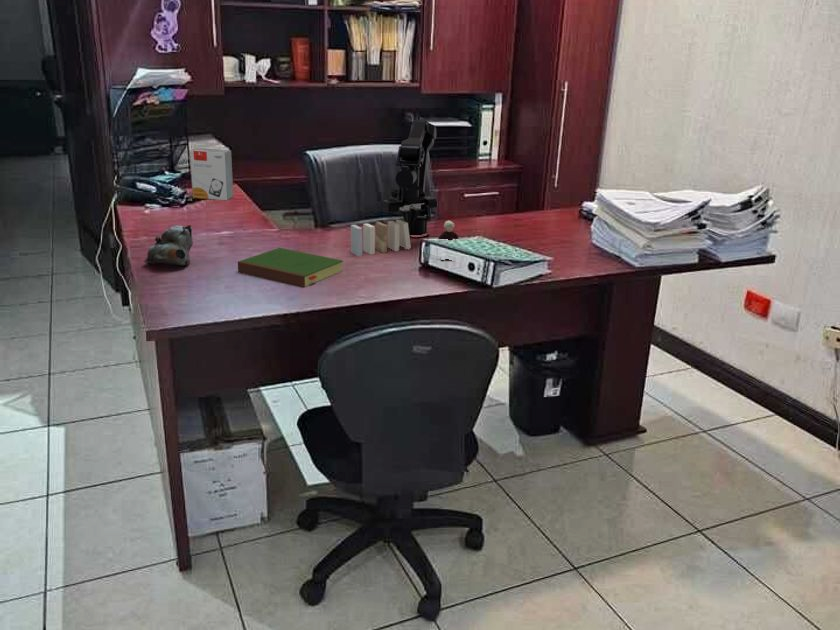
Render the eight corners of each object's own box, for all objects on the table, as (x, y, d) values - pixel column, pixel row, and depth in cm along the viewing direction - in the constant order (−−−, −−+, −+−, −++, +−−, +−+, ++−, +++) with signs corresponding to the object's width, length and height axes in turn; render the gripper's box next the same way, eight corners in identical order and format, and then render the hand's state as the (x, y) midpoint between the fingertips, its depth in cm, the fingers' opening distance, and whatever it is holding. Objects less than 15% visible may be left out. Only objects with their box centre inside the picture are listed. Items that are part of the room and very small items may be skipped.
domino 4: (391, 247, 247) (392, 220, 243) (399, 250, 243) (399, 224, 239) (387, 247, 246) (387, 221, 243) (394, 251, 242) (395, 224, 239)
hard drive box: (192, 198, 309) (188, 150, 301) (200, 194, 316) (196, 147, 309) (227, 200, 306) (224, 152, 299) (234, 197, 313) (231, 149, 306)
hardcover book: (238, 274, 216) (237, 261, 215) (279, 259, 232) (279, 247, 230) (306, 289, 205) (305, 276, 204) (345, 273, 220) (345, 261, 219)
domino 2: (367, 250, 242) (367, 223, 239) (374, 254, 238) (374, 226, 235) (363, 250, 241) (363, 223, 238) (370, 254, 237) (370, 227, 234)
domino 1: (355, 251, 240) (355, 224, 237) (362, 255, 236) (362, 228, 233) (350, 252, 239) (350, 225, 236) (357, 256, 235) (357, 228, 232)
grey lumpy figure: (138, 262, 222) (149, 218, 224) (177, 273, 229) (188, 230, 230) (153, 260, 210) (164, 213, 211) (194, 271, 217) (204, 226, 218)
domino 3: (379, 248, 244) (380, 222, 241) (386, 252, 240) (387, 225, 237) (375, 249, 244) (375, 222, 240) (382, 253, 240) (382, 225, 236)
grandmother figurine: (440, 262, 231) (441, 223, 227) (434, 259, 234) (435, 220, 230) (461, 259, 235) (463, 220, 230) (455, 256, 238) (457, 218, 233)
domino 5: (403, 244, 249) (400, 219, 245) (410, 248, 245) (407, 222, 241) (399, 246, 248) (396, 220, 244) (406, 249, 244) (403, 224, 240)
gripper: (421, 176, 250) (420, 221, 256) (373, 180, 241) (372, 227, 247) (439, 182, 241) (437, 228, 247) (389, 186, 232) (388, 234, 238)
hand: (408, 229), depth 245 cm, fingers closed
